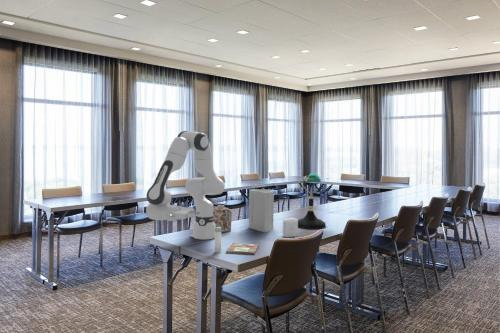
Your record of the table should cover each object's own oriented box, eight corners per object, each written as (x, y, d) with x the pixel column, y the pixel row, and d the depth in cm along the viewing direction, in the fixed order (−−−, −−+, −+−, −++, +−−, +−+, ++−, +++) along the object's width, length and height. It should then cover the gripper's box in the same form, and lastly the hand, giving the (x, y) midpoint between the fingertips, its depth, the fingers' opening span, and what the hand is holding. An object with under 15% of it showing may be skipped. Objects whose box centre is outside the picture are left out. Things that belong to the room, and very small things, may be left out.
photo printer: (295, 235, 263) (295, 217, 262) (298, 236, 259) (298, 218, 258) (281, 236, 259) (282, 218, 258) (284, 237, 255) (285, 219, 254)
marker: (215, 251, 221) (215, 226, 220) (221, 251, 220) (222, 227, 219) (213, 252, 217) (214, 228, 216) (220, 253, 216) (220, 228, 216)
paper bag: (280, 229, 278) (281, 191, 277) (264, 232, 270) (265, 192, 268) (264, 225, 294) (264, 188, 292) (248, 227, 285) (248, 189, 283)
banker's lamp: (326, 230, 278) (327, 175, 276) (293, 228, 282) (295, 174, 280) (325, 223, 304) (326, 172, 302) (296, 221, 308) (297, 171, 306)
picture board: (232, 244, 234) (232, 242, 234) (258, 246, 232) (258, 244, 232) (226, 253, 217) (226, 250, 217) (254, 254, 214) (254, 252, 214)
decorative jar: (231, 231, 271) (232, 205, 271) (218, 232, 264) (219, 206, 263) (221, 228, 280) (222, 203, 280) (207, 229, 272) (209, 204, 272)
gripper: (167, 210, 211) (191, 211, 209) (180, 205, 231) (202, 206, 229) (167, 221, 211) (191, 222, 209) (179, 215, 231) (202, 216, 229)
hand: (197, 214), depth 219 cm, fingers open, 8 cm apart
